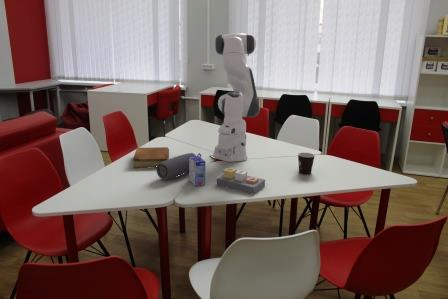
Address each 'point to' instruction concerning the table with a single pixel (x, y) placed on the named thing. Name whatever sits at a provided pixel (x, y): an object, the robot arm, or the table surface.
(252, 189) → the grey keypad base
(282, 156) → the table surface
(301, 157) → the coffee mug
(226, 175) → the key
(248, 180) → the key
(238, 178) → the key
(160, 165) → the bluetooth speaker
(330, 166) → the table surface
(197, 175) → the ink cartridge box
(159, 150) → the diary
